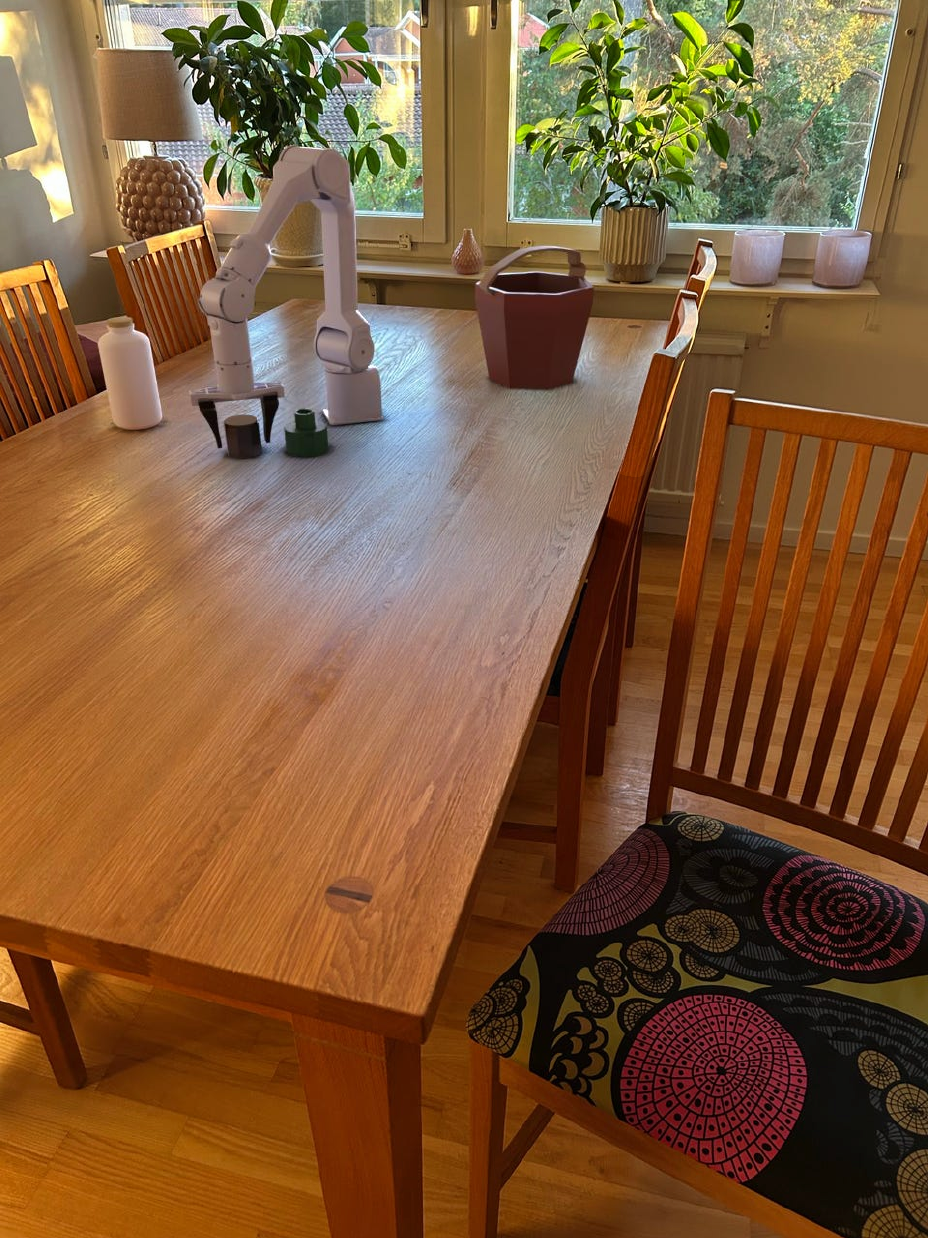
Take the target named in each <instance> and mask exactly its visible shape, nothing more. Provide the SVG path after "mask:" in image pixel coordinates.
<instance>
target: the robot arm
mask: <svg viewBox="0 0 928 1238" xmlns="http://www.w3.org/2000/svg"><path fill="white" fill-rule="evenodd" d="M278 157H279V158H278V160H277V161H276V163H274V165H273V167H272V172H273V173H272V174H273V179H272V181H271V184H270V187H269V188H268V191H267V192H266V195H265V197H264V199H263V201H262V203H261V206H260V208H259V210H258V213H257V214H256V217H255V219H254V221H253V223H252V225H251V227H250V230H249V231H248V232H246V233H241V234H238V235H237V237H236V238H232V240H231V242H230V244H229V246H230V249H229V251H228V252H227V255H226V256H225V258H224V260H223V262H222V264H221V265H220V267H219V268H218V269H217V270H216V272H215V277H212V278H211V279H208V280H207V281H206V282H205V283H204V284H203V286H202V288H201V289H200V294H199V298H197V305H198V308H199V309H200V311H201V312H202V313H203V314H204V315H205V317H206V320H207V326H209V331H210V338H211V345H212V346H211V347H212V354H213V360H214V367H215V375H216V376H215V377H216V384H217V385H215V386H210V387H204V388H199V389H193V390H192V389H191V390H189V391H188V392H189V400H190V404H191V407H196V406H198V409H199V411H200V413H201V415H202V416H203V418H204V420H205V421H206V423H207V424H208V426H209V428H210V430H211V432H212V434H213V437H214V439H215V442H216V447H217V449H223V442H222V437H221V433H220V429H219V420H218V419H219V418H218V411H217V408H216V404H217V403H225V402H235V401H236V402H237V401H245V400H257V399H258V400H259V401H260V408H261V415H262V431H263V439H264V442H265V444H270V443H271V435H272V429H273V425H274V420H275V418H276V414H277V412H278V410H279V406H280V400H279V399H282V398H283V399H284V398H285V386H284V384H283V382H256V381H255V373H254V366H253V365H254V364H253V358H252V356H253V355H252V347H251V339H250V331H249V330H250V329H249V322H248V321H249V320H248V318H249V317H250V316H251V314H252V313H253V312H254V308H255V294H256V292H257V291H256V290H257V288H256V287H257V286H258V284H259V282H260V280H261V278H262V276H263V275H264V273H265V271H266V269H267V267H268V266H269V264H270V262H271V260H272V257H273V256H272V251H271V247H270V246H271V245H272V242H273V241H274V239H275V237H276V236H277V235H278V233H279V232H280V230H281V229H282V227H283V225H284V224H285V223H286V221H287V219H288V218H289V216H290V215H291V214H292V212H293V210H294V209H295V207H296V205H298V204H302V203H305V202H308V201H310V202H311V204H313V205H314V206H315V207H316V208H317V209H318V210H319V211H320V218H321V219H320V220H321V223H320V224H321V241H322V242H321V243H322V265H323V266H322V267H323V285H324V307H325V310H324V312H323V313H322V314H321V315H320V316H319V317H318V318H317V319H316V331H315V336H314V339H313V351H314V354H315V356H316V357H317V358H318V359H319V360H320V361H321V367H323V368H324V376H325V377H324V378H325V388H326V389H325V390H326V406H327V408H325V409H322V414H323V415H324V416H325V418H326V420H327V422H328V423H329V425H331V426H339V425H340V426H341V425H348V424H349V425H350V424H357V423H367V422H368V423H369V422H377V421H383V420H384V417H383V410H382V409H383V408H382V390H381V389H382V387H381V386H382V385H381V377H380V373H379V370H378V367H377V366H376V365H371V364H372V362H373V360H374V357H375V352H376V351H375V349H376V348H375V342H374V340H373V338H372V334H371V324H370V323H369V322H368V321H367V319H365V317H364V316H363V315H362V314H361V312H360V311H359V304H358V271H357V266H358V265H357V238H356V237H357V236H356V235H357V234H356V232H357V231H356V201H355V195H354V192H353V188H352V185H351V166H350V162H349V161H348V160H347V159H346V157H344V155H342V154H341V153H340V152H339V150H337V149H335V148H331V147H328V148H320V147H308V146H307V147H306V146H305V147H304V146H298V145H294V144H293V145H288V146H286V147H285V148H284V149H283V150H282V151H281V153H280V155H279V156H278ZM215 403H216V404H215Z"/></svg>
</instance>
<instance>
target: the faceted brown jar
mask: <svg viewBox="0 0 928 1238" xmlns="http://www.w3.org/2000/svg"><path fill="white" fill-rule="evenodd" d="M222 424H223V431H224V438H225V444H226V452H227V456H228V457H229V458H234V459H239V460H241V459H250V458H255V457H257V456H259V455H261V454H262V453H263V447H262V437H261V430H260V422H259V418H258V417H257V416H255V415H253V414H235V415H234V414H233V415H231V416H227V417H226V418H224V419H223V423H222Z"/></svg>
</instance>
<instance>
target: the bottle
mask: <svg viewBox="0 0 928 1238" xmlns="http://www.w3.org/2000/svg"><path fill="white" fill-rule="evenodd" d="M293 415H294V420H293V421H290V422H288V423H286V424H285V426H284V427H283V429H284V439H285V449H286V452H287V454H288V455H290V456H293V457H297V458H312V457H318V456H322V455H323V454H326V453H327V452H328V451H329V435H328V425H327V424H326V422H324V421H321V420H318V419H316V413H315V410H314V409H313V408H306V407H303V408H298V409H295V410H294V411H293Z"/></svg>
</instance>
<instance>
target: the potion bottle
mask: <svg viewBox="0 0 928 1238" xmlns="http://www.w3.org/2000/svg"><path fill="white" fill-rule="evenodd" d="M106 323H107V325H106V328H107V330H108V331H107V332H106V333H105V334H103V335H102V336H101V337H100V338H98V341H97V347H98V352H99V357H100V362H101V367H102V372H103V377H104V382H105V388H106V392H107V397H108V402H109V407H110V412H111V413H110V414H111V417H112V421H113V423H114V425H115V426H117V427H118V428H120V429H123V430H126V431H127V430H129V431H139V430H145V429H149V428H153V427H155V426H157V425H158V424H160V422H161V421H162V420H163V412H162V406H161V399H160V395H159V388H158V383H157V378H156V371H155V365H154V360H153V353H152V347H151V343H150V339H149V337H148V336H147V335H146V334H145V333H143V332H141V331H138V330H136V329H135V323H134V322H133V318H132V317H129V316H117V317H111V318H108V319H107V320H106Z"/></svg>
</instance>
